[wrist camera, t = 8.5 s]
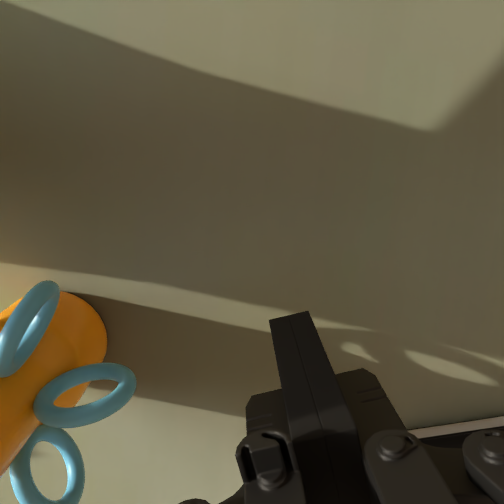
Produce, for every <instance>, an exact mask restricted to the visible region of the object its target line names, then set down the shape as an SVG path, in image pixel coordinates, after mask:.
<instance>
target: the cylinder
mask: <svg viewBox="0 0 504 504" xmlns="http://www.w3.org/2000/svg"><path fill="white" fill-rule="evenodd" d="M106 351H107V334H106V329H105V327H104V323H103V321H102V320H101V318H100V316H99V314H98V313H97V312H96V311H95V310H94V309H93V307H92V306H90V305H89V304H88V303H87V302H85V301H84V300H83V299H81V298H79V297H77V296H75V295H73V294H69V293H67V292H63V291H60V289H59V286H58V285H57V284H56V283H55V282H53V281H43V282H40V283H38V284H37V285H35V286H34V287H33V288H32V289H31V290H30V291H29V292H28V293H27V294H26V295H25V296H24V297H22V298H21V299H19V300H18V301H16V302H15V303H13V304H12V305H11V306H9V307H8V308H7V309H5V310H4V311H2V312H1V313H0V478H1V477H2V476H3V474H4V473H5V471H6V470H7V468H8V467H9V466H10V479H11V484H12V488H13V491H14V493H15V496H16V498H17V499H18V501H19V503H20V504H78V503H79V501H80V498H81V496H82V493H83V489H84V482H85V471H84V464H83V460H82V456H81V453H80V451H79V449H78V447H77V445H76V443H75V442H74V440H73V439H72V437H71V436H70V435H69V434H68V433H67V432H66V431H64V430H63V429H62V428H74V427H80V426H85V425H88V424H92V423H95V422H97V421H100V420H102V419H104V418H106V417H108V416H110V415H112V414H113V413H115V412H117V411H118V410H119V409H121V408H122V407H123V406H124V405H125V404H126V403H127V402H128V401H129V400H130V399H131V397H132V396H133V394H134V392H135V389H136V384H137V382H136V377H135V375H134V373H133V372H132V371H131V370H130V369H129V368H128V367H126V366H124V365H121V364H117V363H102V362H103V360H104V357H105V355H106ZM101 379H108V380H114V381H116V382H118V383H119V384H118V386H117V387H116V389H115V390H114V391H112V392H111V393H110V394H108V395H107V396H105V397H103V398H102V399H100V400H97V401H95V402H92V403H89V404H86V405H82V406H78V407H74V406H75V405H76V404H77V402H78V401H79V400H80V398H81V397H82V395H83V393H84V392H85V390H86V388H87V387H88V385H89V384H90V382H91V381H94V380H101ZM40 441H47V442H49V443H51V444H53V445H54V446H55V447H56V448H57V449H58V450H59V452H60V453H61V455H62V456H63V458H64V461H65V464H66V467H67V473H68V483H67V488H66V491H65V494H64V495H63V497H62V498H61V499H60V500H57V501H52V500H49V499H47V498H46V497H44V496H43V495H42V494H41V493H40V492H39V490H38V489H37V487H36V485H35V483H34V481H33V478H32V475H31V469H30V457H31V452H32V450H33V447H34V446H35V444H36V443H38V442H40Z"/></svg>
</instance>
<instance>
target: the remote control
mask: <svg viewBox="0 0 504 504" xmlns="http://www.w3.org/2000/svg"><path fill="white" fill-rule="evenodd" d="M484 429H487V430H501V431H504V416H502V417H496V418H489V419H482V420H476V421H469V422H462V423H455V424H449V425H442V426H435V427H429V428H422V429H415V430H408V432H409V433H411V434H413V435H415V436H416V437H417V438H418V439H419V440H420V441H421V442H422V443H424V444H427V445H430V446H434V447H442V448H462V445H463V443H464V440H465V438H466V437H468V436H469V435H470V434H472V433H473V432H477V431H480V430H484Z"/></svg>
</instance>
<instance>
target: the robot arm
mask: <svg viewBox="0 0 504 504" xmlns="http://www.w3.org/2000/svg"><path fill="white" fill-rule="evenodd" d="M269 323H270V329H271V334H272V339H273V345H274V350H275V355H276V360H277V366H278V371H279V376H280V382H281V387H282V389H278V390H273V391H269V392H265V393H261V394H257V395H252V396H251V398H250V400H249V402H248V404H247V406H246V421H247V422H246V428H247V436H246V437H245V438H244V439H243V440H242V441H241V442H240V444H239V445H238V446H237V450H236V454H235V456H236V460H237V463H238V466H239V469H240V473H241V476H242V479H243V482H244V484H243V485H242V487H241V488H240V489H239V490H238V491H237V492H236V493H235V494H234V495H233V496H231V497H229V498H228V499H226V500H225V501H223V502H221V503H219V504H504V431H501V430H487V429H484V430H480V431H477V432H473V433H472V434H470V435H469V436H468V437H466V438H465V440H464V443H463V445H462V448H442V447H434V446H430V445H427V444H424V443H422V442H421V441H420V440H419V439H418V438H417V437H416V436H415V435H413V434H411V433H409V432H408V431H407V430H406V428H405V426H404V424H403V423H402V421H401V419H400V418H399V416H398V414H397V412H396V411H395V409H394V407H393V405H392V404H391V402H390V400H389V399H388V397H387V395H386V393H385V392H384V390H383V388H382V387H381V385H380V383H379V381H378V380H377V378H376V376H375V375H373V374H372V373H370V372H369V371H367V370H366V369H364V368H361V369H357V370H353V371H348V372H344V373H340V374H336V375H335V374H334V371H333V369H332V366H331V364H330V362H329V359H328V357H327V354H326V352H325V350H324V347H323V345H322V342H321V340H320V338H319V335H318V333H317V330H316V328H315V326H314V323H313V321H312V318H311V316H310V314H309V311H305V312H301V313H296V314H292V315H288V316H284V317H280V318H276V319H272V320H269ZM179 504H210V503H208V502H207V501H206V500H202V499H196V498H195V499H190V500H185V501H183V502H181V503H179Z"/></svg>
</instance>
